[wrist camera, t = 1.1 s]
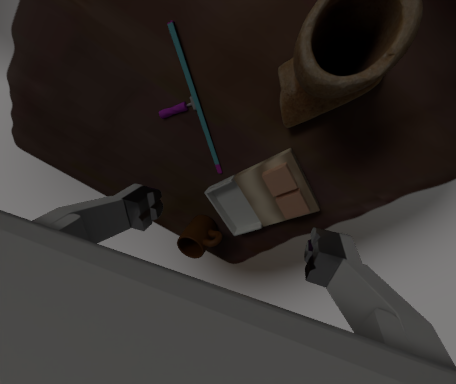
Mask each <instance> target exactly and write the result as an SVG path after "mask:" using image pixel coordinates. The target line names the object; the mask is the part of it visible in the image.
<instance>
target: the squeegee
mask: <svg viewBox="0 0 456 384" xmlns="http://www.w3.org/2000/svg"><path fill="white" fill-rule="evenodd" d="M174 23H175V22H174V21H170V22H169V23H167V24H168V27H169V30H170V33H171V36H172V39H173V42H174V45H175V48H176V51H177V54H178V57H179V60H180V63H181V66H182V68H183V71H184V74H185V77H186V80H187V83H188V86H189V89H190V92H191V95H192V96H191V97H190V100H191V103H189V104H187V105H186V103H185V102H183V103H180V104H178V105H175V106H174V107H172V108H167V109H164V110H161V111H159V116H160V117H161V118H162V119H164V118H167V117H169V116H171V115H173V114H177V113H180V112H184V111H187V110H188V108H187V106H193V109H194V110H197V113H198V115H199V118H200V121H201V124H202V127H203V130H204V133H205V136H206V139H207V142H208V145H209V148H210V151H211V154H212V157H213V160H214V162H215V165H216V168H217V171H218V173H222V171H221V168H220V165H219V161H218V158H217V155H216V152H215V149H214V146H213V143H212V140H211V137H210V134H209V131H208V128H207V125H206V122H205V119H204V116H203V113H202V110H201V107H200V104H199V101H198V97H197V94H196V91H195V88H194V85H193V82H192V79H191V76H190V73H189V70H188V67H187V64H186V61H185V58H184V55H183V52H182V49H181V46H180V43H179V40H178V37H177V34H176V31H175V28H174V25H173V24H174Z"/></svg>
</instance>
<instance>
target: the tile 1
mask: <svg viewBox="0 0 456 384" xmlns="http://www.w3.org/2000/svg"><path fill="white" fill-rule="evenodd" d="M262 178H263V180H264V181H265V183H266V185H267V187H268V188H269V190H270V192H271V194H272V195H273V197H274V196H277V195H280V194H282V193H285V192H288V191H291V190H293V189H296V188H297V182H296V180H295V178H294V176H293V174H292V172H291V170H290V168H289V166H288V164H287V162H285V163H283V164H281V165H278V166H276V167H274V168H272V169H270V170H267V171H265V172H263V174H262Z"/></svg>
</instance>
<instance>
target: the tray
mask: <svg viewBox="0 0 456 384" xmlns="http://www.w3.org/2000/svg"><path fill="white" fill-rule="evenodd" d="M234 177H235V175H233V176H231V177H229V178H227V179H225V180H223V181H221V182H219V183H217V184H215V185H213V186H210V187H209V188H208V189H207V190H206V191H205V194H206V196H207V197H208V199H209V200H210V202H211V203H212V205H213V206H214V207H215V209H216V210H217V212H218V213H219V215H220V216H221V218H222V219H223V221H224V222H225V223H226V225H227V226H228V228H229V229H230V231H231V232H232V234H233V235H234V236H236V235H240V234H243V233H247V232H251V231H254V230H258V229H261V228H262V223H261V222H260V220H259V219H258V217H257V215H256V214H255V212H254V210H253V209H252V207H251V206H250V204H249V202H248V201H247V199H246V198H245V196H244V194H243V193H242V191H241V189H240V188H239V186H238V185H237V183H236V181H235V180H234Z"/></svg>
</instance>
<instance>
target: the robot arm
mask: <svg viewBox="0 0 456 384" xmlns="http://www.w3.org/2000/svg"><path fill="white" fill-rule="evenodd" d="M161 197H162V194H161V191H160V190H158V189H155V188H151V187H147V186H143V185H139V184H133V185H131V186H130V187H128V188H126V189H125V190H123V191H121V192H120V193H118V194H116V195H114V196H113V197H112V196H108V197H104V198H99V199H95V200H91V201H86V202H81V203H77V204H73V205H68V206H63V207H59V208H56V209H54V210H52V211H50V212H49V213H47V214H45V215H43V216H41V217H39V218H37V219H35V220H33V221H30V220H27V219H24V218H21V217H18V216H16V215H13V214H10V213H7V212H4V211H1V210H0V384H456V366H455V365H454V363H453V361H452V359H451V358H450V356H449V354H448V352H447V351H446V349H445V347H444V345H443V344H442V342H441V340H440V338H439V337H438V335H437V333H436V332H435V330H434V328H433V326H432V325H431V323H429V322H428V321H427V320H426V319H425V318H424V317H423V316H422V315H421V314H420V313H418V312H417V311H416V310H415V309H414V308H413V307H412V306H411V305H410V304H409V303H408V302H406V301H405V300H404V299H403V298H402V297H401V296H400V295H399V294H398V293H397V292H395V291H394V290H393V289H392V288H391V287H390V286H389V285H388V284H387V283H386V282H384V281H383V280H382V279H381V278H380V277H379V276H378V275H377V274H376V273H375V272H374V271H372V270H371V269H370V268H369V267H368V266H367V265H364V264H362V261H361V259H360V256H359V254H358V251H357V249H356V246H355V243H354V241H353V238H352V236H350V235H347V234H342V233H336V232H331V231H328V230H323V229H319V228H315V227H314V228H313V230H312V232H311V240H308V242H307V245H306V248H305V261H306V263H307V265H306V267H305V276H306V281H308V282H311V283H314V284H317V285H320V286H323V287H326V289H327V290H328V292H329V294H330V295H331V297H332V298H333V300H334V301H335V303H336V305H337V306H338V307H339V309H340V311H341V313H342V314H343V315H344V317H345V319H346V320H347V322H348V324H349V325H350V327H351V328H352V330H353V331H354V333H352V332H349V331H346V330H343V329H341V328H338V327H335V326H332V325H329V324H326V323H323V322H320V321H318V320H314V319H312V318H309V317H306V316H303V315H300V314H297V313H295V312H292V311H289V310H286V309H283V308H280V307H277V306H275V305H272V304H269V303H266V302H263V301H260V300H257V299H254V298H251V297H249V296H246V295H243V294H240V293H237V292H234V291H231V290H228V289H226V288H223V287H220V286H217V285H214V284H211V283H208V282H205V281H203V280H200V279H197V278H194V277H191V276H188V275H185V274H182V273H180V272H177V271H174V270H171V269H168V268H165V267H162V266H159V265H157V264H154V263H151V262H148V261H145V260H142V259H139V258H137V257H134V256H131V255H128V254H125V253H122V252H119V251H116V250H114V249H110V248H107V247H105V246H102V245H99V244H97V243H99V242H101V241H103V240H105V239H108V238H110V237H112V236H114V235H116V234H119V233H121V232H123V231H125V230H128V229H130V227H131V228H134V229H138V230H142V231H145V230H146V229H147V228H148V227H149V226H150V225H151V224H152V220H155V219H157V218H158V217H159V216H160V215H161V213H162V211H163V203H162V201H161V200H160V198H161Z"/></svg>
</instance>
